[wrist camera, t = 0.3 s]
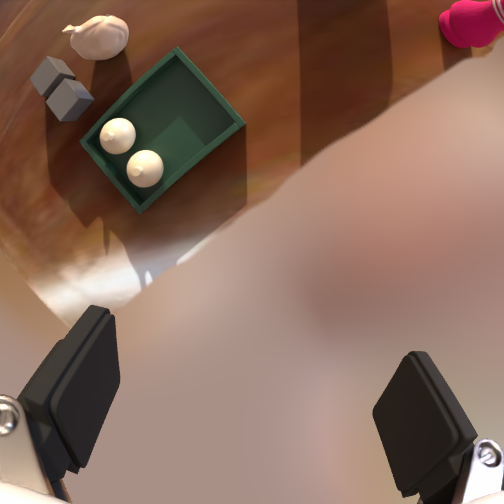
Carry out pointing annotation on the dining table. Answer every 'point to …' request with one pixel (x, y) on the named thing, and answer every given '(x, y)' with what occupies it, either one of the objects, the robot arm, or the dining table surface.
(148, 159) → the white bulb
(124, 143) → the white bulb
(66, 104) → the grey block
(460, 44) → the pepper mill
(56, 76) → the grey block
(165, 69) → the green tray
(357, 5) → the dining table surface
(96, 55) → the garlic bulb
